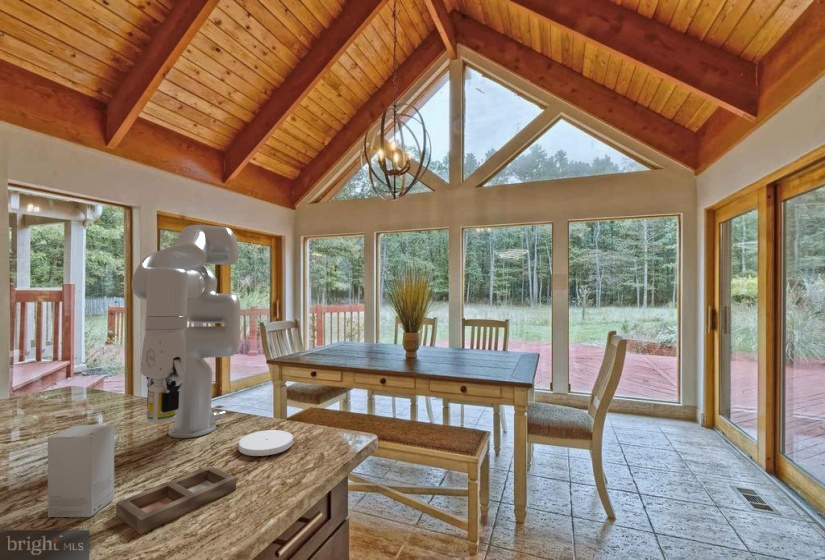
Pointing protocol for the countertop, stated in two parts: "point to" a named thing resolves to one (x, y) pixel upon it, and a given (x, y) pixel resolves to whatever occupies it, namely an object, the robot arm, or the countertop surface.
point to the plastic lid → (265, 442)
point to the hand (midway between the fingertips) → (162, 407)
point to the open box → (174, 498)
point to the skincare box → (80, 470)
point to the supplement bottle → (158, 403)
